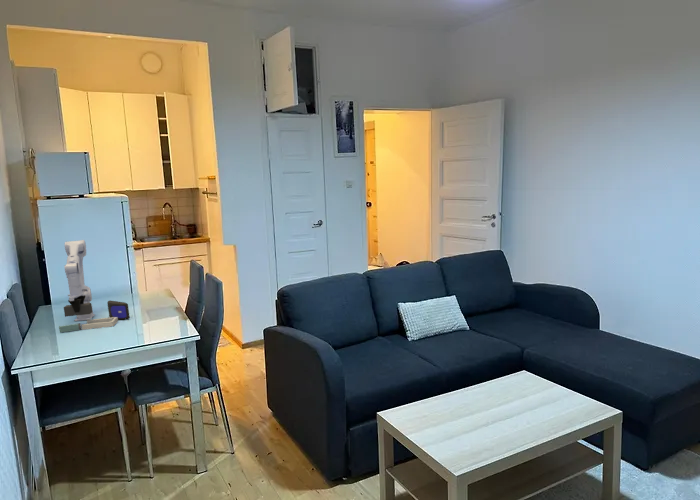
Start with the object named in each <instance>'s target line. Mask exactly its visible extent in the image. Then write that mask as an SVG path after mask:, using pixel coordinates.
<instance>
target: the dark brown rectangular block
mask: <svg viewBox="0 0 700 500" xmlns="http://www.w3.org/2000/svg"><path fill="white" fill-rule="evenodd" d="M91 304H92V302H90V303H85V304H80V312H76V313H75V312H74V309H73V307H72V305H71V304H66V305H65V306H63V312H64V317H74V316H76V315H86V314H91V313H92V309H93V304H92V305H91ZM76 317H77V316H76Z"/></svg>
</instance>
